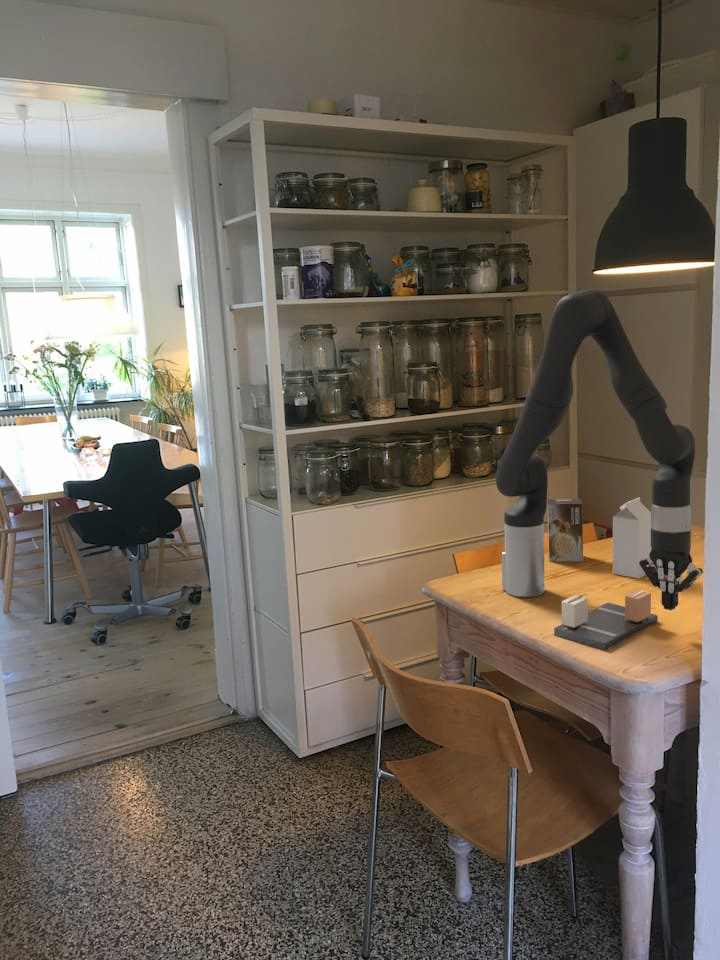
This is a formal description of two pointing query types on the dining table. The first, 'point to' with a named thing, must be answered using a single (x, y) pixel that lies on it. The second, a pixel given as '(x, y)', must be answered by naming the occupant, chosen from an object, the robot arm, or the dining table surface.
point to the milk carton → (631, 539)
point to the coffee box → (565, 530)
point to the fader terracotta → (638, 605)
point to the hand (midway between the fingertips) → (669, 608)
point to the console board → (605, 627)
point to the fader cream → (574, 611)
